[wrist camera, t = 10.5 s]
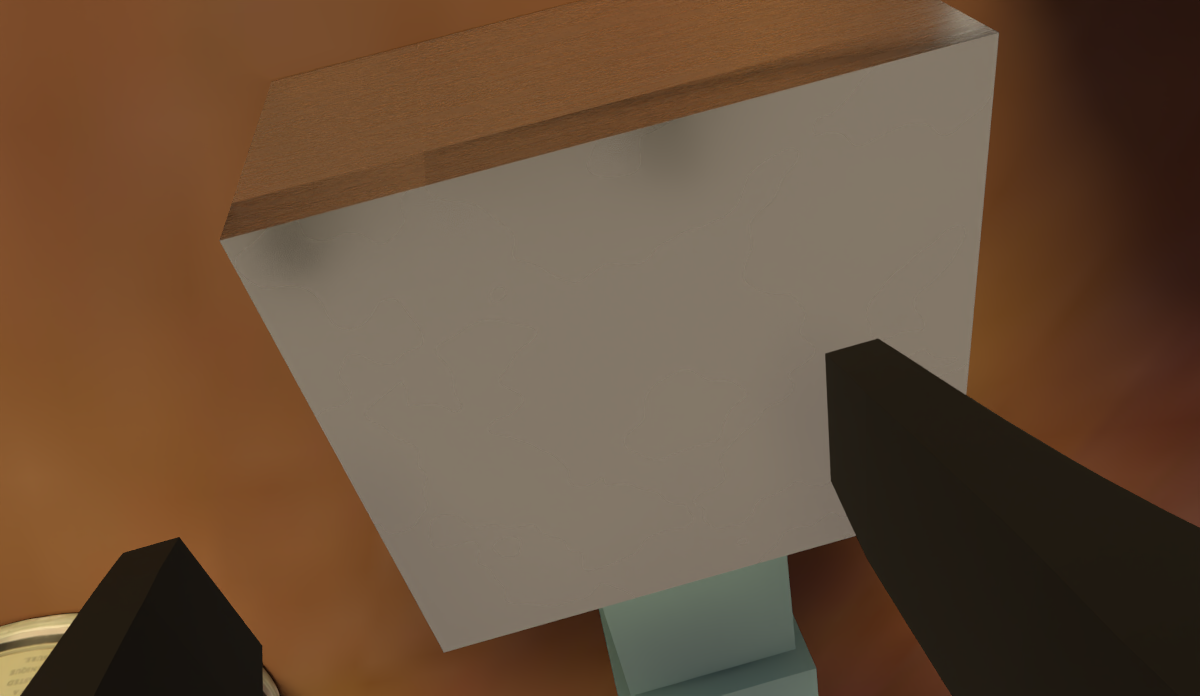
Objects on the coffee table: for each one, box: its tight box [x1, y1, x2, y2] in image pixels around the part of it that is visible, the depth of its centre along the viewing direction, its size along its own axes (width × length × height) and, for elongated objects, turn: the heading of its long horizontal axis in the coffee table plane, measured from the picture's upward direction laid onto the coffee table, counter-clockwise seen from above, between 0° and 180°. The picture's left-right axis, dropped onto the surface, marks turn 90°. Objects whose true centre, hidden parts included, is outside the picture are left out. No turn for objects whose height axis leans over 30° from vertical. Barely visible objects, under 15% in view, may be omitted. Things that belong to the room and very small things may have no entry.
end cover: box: [599, 555, 818, 696], centre depth 25 cm, size 5×10×5 cm, turn 11°
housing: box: [220, 0, 999, 652], centre depth 17 cm, size 11×10×6 cm
